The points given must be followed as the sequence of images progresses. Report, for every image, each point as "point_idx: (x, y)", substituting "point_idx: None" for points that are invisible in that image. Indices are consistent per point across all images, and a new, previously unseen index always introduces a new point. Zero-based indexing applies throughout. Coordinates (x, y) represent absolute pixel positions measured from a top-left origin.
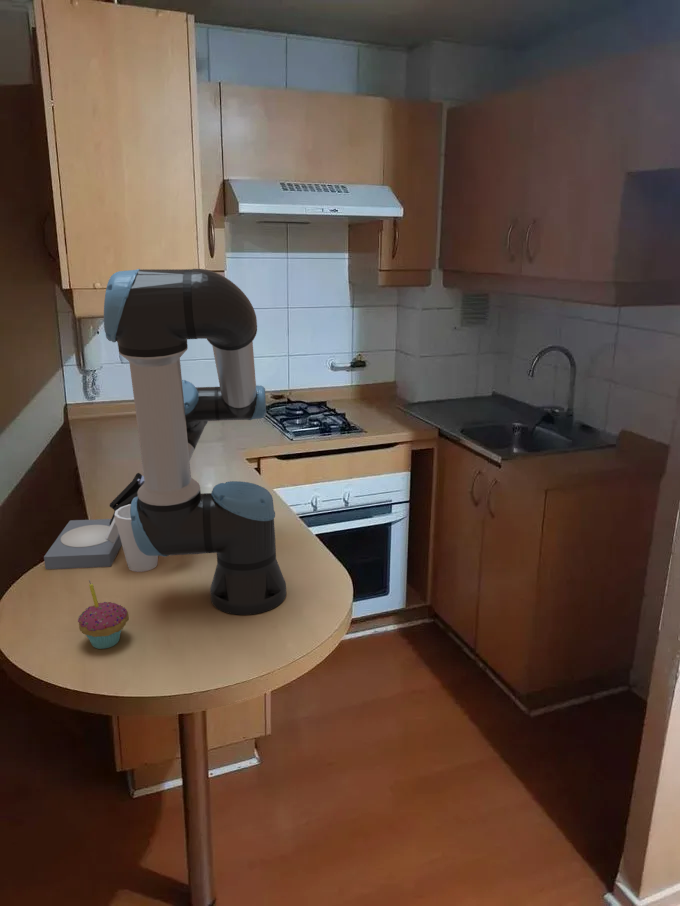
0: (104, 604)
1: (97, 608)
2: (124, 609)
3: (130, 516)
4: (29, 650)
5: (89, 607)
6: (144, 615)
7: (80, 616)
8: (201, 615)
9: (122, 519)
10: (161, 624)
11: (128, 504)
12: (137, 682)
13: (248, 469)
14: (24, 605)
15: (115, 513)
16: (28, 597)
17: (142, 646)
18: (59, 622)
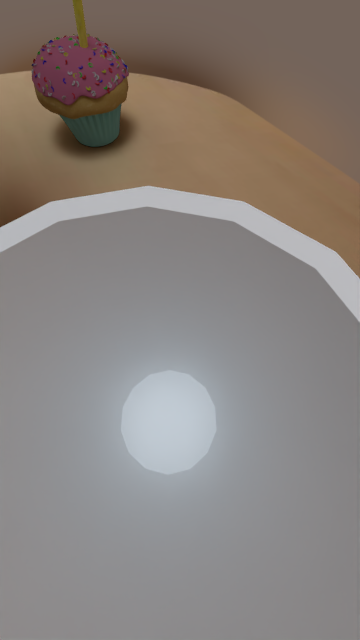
0: (71, 51)
1: (77, 38)
2: (35, 76)
3: (298, 534)
4: (203, 104)
5: (104, 51)
6: (58, 199)
7: (118, 56)
8: None
9: (190, 200)
10: (14, 182)
11: None
12: (14, 84)
13: None
14: (321, 185)
15: (350, 279)
16: (342, 208)
17: (31, 134)
18: (210, 157)
